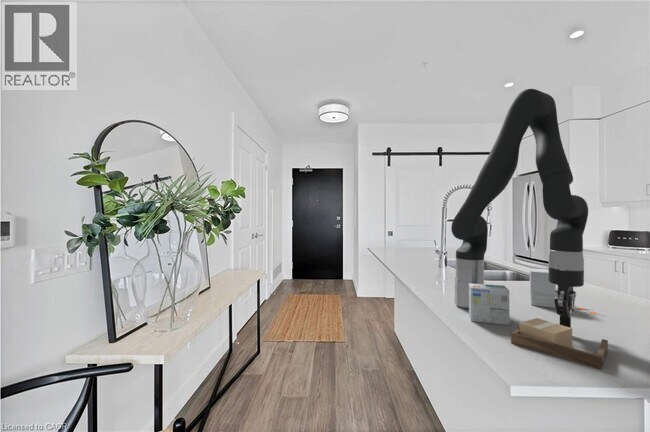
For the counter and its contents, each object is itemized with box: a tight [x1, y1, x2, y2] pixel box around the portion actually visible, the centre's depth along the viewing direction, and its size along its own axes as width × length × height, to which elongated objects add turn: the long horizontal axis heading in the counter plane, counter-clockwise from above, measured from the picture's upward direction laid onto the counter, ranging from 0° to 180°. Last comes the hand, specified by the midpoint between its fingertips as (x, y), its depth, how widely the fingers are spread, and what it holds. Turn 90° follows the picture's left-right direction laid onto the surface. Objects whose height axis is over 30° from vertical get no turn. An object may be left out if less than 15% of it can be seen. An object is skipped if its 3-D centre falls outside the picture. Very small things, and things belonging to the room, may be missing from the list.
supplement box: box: [529, 268, 557, 309], centre depth 107 cm, size 7×7×13 cm
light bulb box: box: [468, 283, 511, 326], centre depth 91 cm, size 11×7×11 cm, turn 71°
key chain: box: [574, 306, 607, 318], centre depth 101 cm, size 13×7×1 cm, turn 50°
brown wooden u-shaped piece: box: [510, 325, 609, 370], centre depth 73 cm, size 13×17×2 cm
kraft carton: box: [519, 317, 573, 348], centre depth 74 cm, size 8×8×5 cm
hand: (565, 329), depth 80 cm, fingers closed
